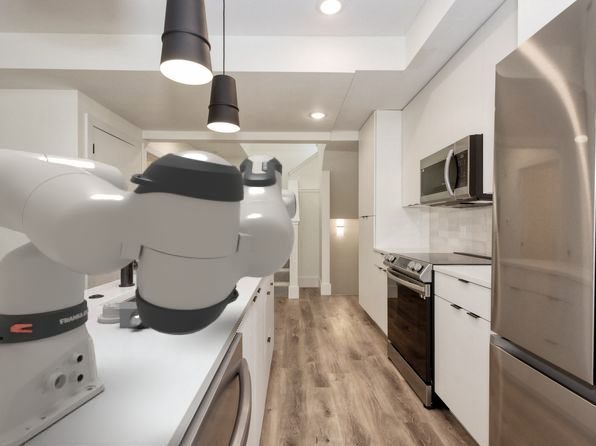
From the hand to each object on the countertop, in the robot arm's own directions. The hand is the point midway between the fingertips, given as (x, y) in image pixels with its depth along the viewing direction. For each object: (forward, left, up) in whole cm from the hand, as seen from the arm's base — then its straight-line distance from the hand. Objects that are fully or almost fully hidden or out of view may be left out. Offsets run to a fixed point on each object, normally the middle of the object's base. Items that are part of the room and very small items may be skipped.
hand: (184, 205), depth 86 cm
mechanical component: (+6, +22, -32) cm, 40 cm away
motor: (+2, +11, -32) cm, 34 cm away
